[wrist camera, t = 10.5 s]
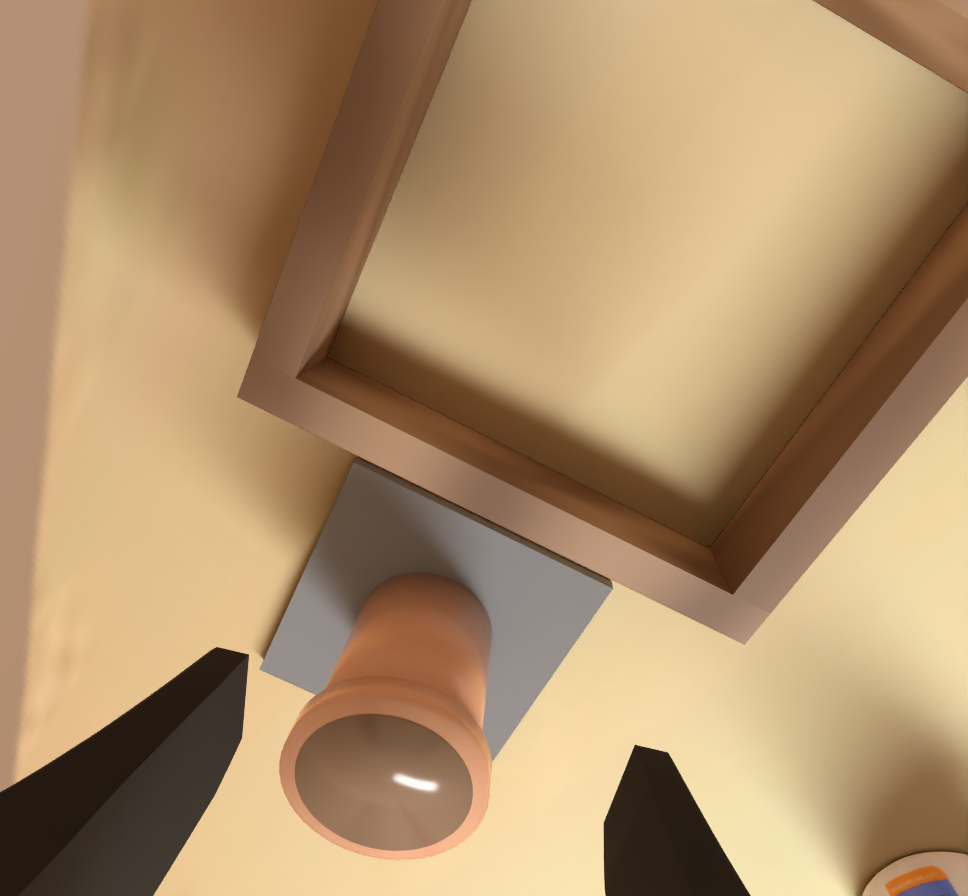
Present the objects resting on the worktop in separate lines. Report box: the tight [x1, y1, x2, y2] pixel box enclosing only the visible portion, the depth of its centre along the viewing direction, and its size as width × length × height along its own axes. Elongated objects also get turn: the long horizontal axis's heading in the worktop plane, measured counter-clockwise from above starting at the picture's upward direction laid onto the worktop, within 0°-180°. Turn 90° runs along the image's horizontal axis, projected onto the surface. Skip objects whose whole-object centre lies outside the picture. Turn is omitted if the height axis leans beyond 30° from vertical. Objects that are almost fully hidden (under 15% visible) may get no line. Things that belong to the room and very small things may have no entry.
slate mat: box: [259, 458, 613, 762], centre depth 21 cm, size 9×9×1 cm
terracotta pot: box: [279, 573, 492, 860], centre depth 18 cm, size 5×5×6 cm
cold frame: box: [237, 0, 968, 645], centre depth 15 cm, size 15×15×2 cm
